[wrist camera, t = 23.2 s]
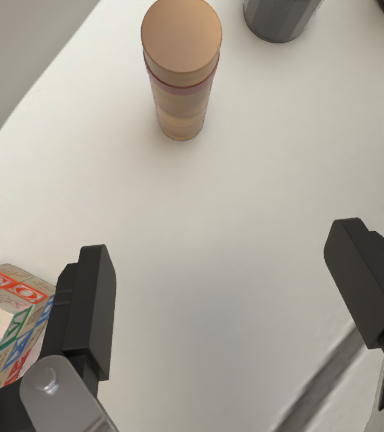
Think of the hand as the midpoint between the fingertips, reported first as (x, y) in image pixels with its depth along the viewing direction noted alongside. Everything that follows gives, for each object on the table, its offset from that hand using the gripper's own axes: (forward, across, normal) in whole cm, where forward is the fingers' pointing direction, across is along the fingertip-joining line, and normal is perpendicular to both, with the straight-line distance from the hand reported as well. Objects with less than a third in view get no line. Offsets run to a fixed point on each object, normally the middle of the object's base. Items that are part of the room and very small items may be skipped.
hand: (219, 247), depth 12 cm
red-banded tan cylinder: (+23, 0, +7) cm, 24 cm away
